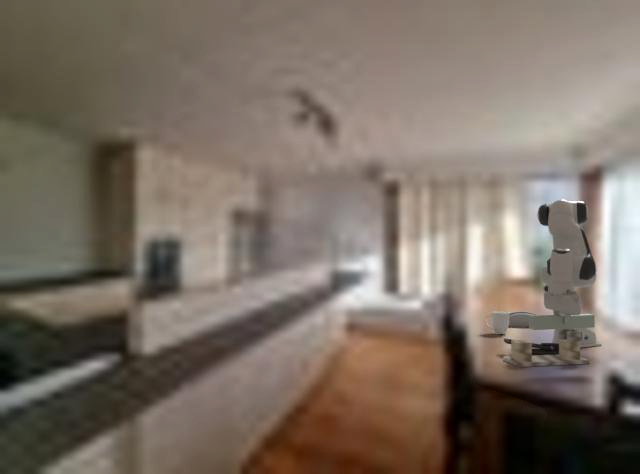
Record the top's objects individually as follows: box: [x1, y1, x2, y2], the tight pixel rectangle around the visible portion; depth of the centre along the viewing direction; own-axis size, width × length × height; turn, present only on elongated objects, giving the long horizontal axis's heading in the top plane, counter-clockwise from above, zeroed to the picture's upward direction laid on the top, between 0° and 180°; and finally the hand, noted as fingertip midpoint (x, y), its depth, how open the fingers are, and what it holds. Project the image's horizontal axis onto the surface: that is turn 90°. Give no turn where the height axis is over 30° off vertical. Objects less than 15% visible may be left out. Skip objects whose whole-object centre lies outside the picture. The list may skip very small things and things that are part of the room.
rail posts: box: [503, 329, 590, 368], centre depth 241 cm, size 32×12×13 cm, turn 99°
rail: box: [528, 313, 596, 331], centre depth 230 cm, size 26×4×5 cm, turn 99°
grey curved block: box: [508, 310, 537, 328], centre depth 330 cm, size 17×5×10 cm, turn 77°
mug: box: [485, 310, 510, 335], centre depth 306 cm, size 12×9×12 cm
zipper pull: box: [503, 338, 559, 356], centre depth 255 cm, size 9×7×25 cm
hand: (561, 322), depth 230 cm, fingers closed on rail, 4 cm apart
